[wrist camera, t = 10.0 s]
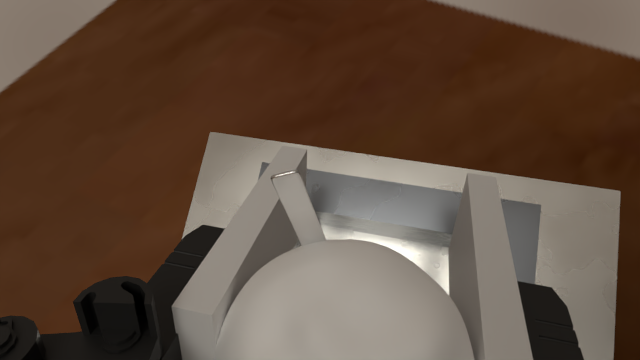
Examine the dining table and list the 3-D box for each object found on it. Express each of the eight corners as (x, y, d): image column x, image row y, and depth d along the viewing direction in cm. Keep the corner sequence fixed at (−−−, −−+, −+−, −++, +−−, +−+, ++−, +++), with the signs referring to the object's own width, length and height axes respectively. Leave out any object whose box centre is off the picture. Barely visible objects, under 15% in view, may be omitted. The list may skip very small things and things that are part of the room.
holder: (606, 197, 20) (672, 166, 15) (588, 569, 17) (664, 667, 12) (219, 140, 23) (179, 100, 18) (140, 443, 20) (68, 484, 15)
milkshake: (408, 237, 16) (434, 136, 7) (449, 399, 15) (557, 567, 5) (284, 263, 17) (144, 204, 7) (311, 424, 15) (178, 623, 6)
